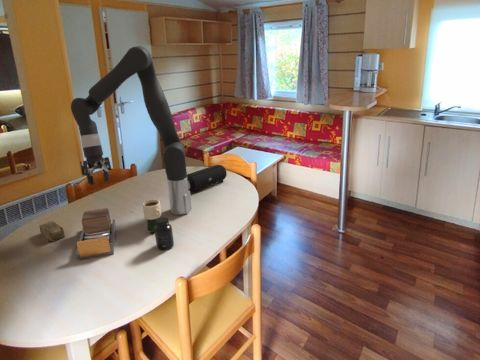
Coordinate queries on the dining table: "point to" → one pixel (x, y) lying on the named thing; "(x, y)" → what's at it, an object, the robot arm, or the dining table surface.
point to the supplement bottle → (163, 234)
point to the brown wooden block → (96, 220)
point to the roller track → (96, 243)
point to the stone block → (52, 231)
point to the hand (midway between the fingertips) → (99, 182)
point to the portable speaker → (206, 177)
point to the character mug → (151, 213)
